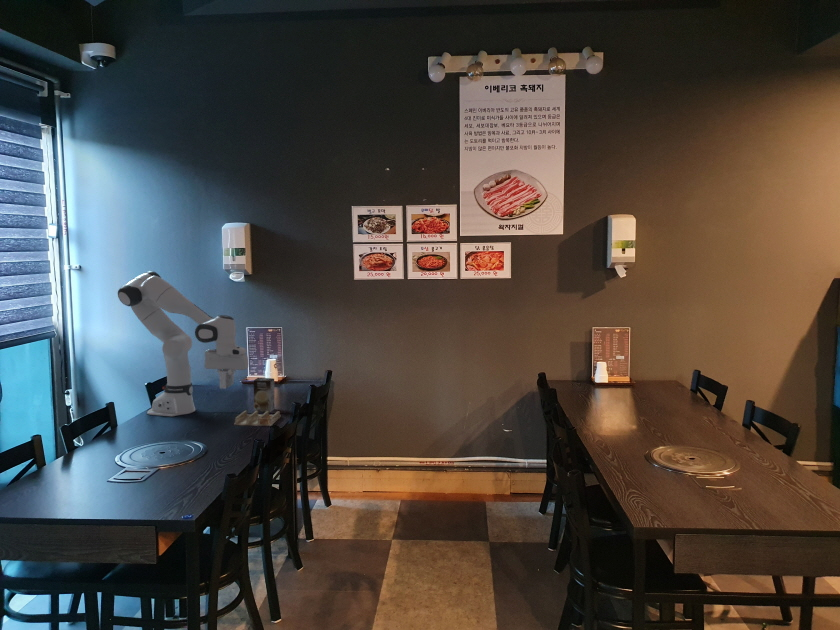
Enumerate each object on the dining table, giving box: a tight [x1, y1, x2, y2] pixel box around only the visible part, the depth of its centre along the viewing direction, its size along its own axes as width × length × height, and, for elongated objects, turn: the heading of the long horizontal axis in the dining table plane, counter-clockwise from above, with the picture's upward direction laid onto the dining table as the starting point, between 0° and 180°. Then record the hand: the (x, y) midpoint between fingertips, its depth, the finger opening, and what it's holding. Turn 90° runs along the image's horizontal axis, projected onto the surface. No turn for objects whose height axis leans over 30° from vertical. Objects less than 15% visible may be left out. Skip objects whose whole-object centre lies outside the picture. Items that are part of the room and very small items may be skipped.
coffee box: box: [253, 377, 276, 413], centre depth 300 cm, size 9×6×16 cm
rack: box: [233, 410, 282, 427], centre depth 282 cm, size 17×15×3 cm
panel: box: [218, 369, 235, 390], centre depth 281 cm, size 3×10×8 cm, turn 176°
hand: (226, 378), depth 281 cm, fingers closed on panel, 3 cm apart
